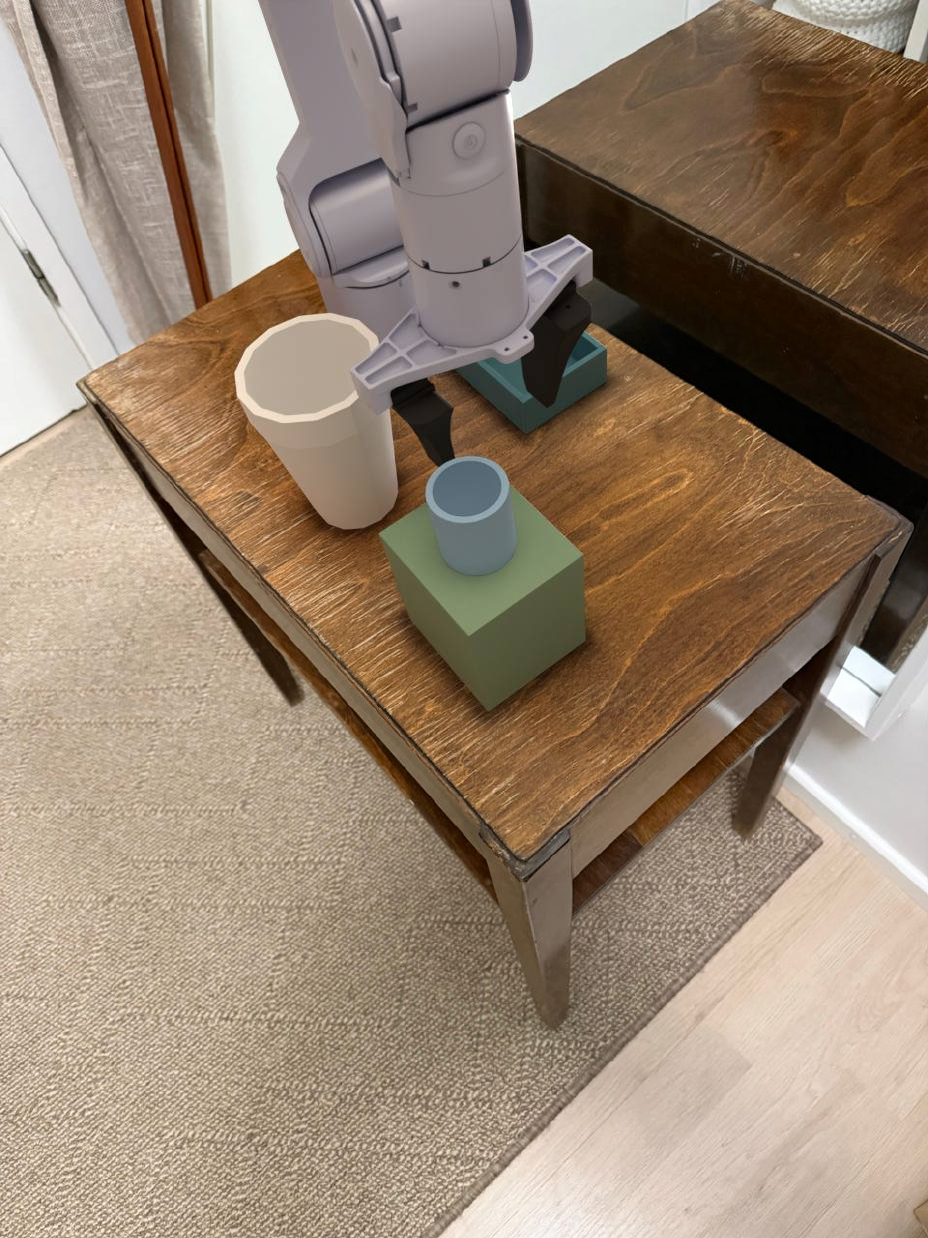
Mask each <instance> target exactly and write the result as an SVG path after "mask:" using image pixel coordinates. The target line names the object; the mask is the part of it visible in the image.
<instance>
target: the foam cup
mask: <svg viewBox="0 0 928 1238" xmlns="http://www.w3.org/2000/svg"><path fill="white" fill-rule="evenodd" d="M378 345H379V342H378V338H377V336H376V335H375V334H374V333H373V332H372V331H371V330H369V329H368V328H367V327H366V326H365V325H364V324H363V323H361V322H360V321H359V320H357V319H353V318H349V317H345V316H341V315H337V314H333V313H327V312H326V313H324V312H323V313H316V314H315V313H314V314H307V315H306V314H304V315H298V316H296V317H293V318H291V319H288V320H286V321H283V322H282V323H279V324H276V325H274V326H272V327H269V328H268V329H267V330H266V331H265V332H263V333H262V334H261V335H260V336H258V338H256V339H255V340H254V341H253V342H252V343H250V344H249V346H247V347H246V348H245V350H244V352H243V354H242V356H241V358H240V360H239V362H238V364H237V366H236V368H235V370H234V382H235V391H236V397H237V399H238V401H239V403H240V405H241V407H242V409H243V412H244V414H245V416H246V418H247V420H248V421H249V423H250V424H251V425H252V426H253V428H254V429H255V430H256V431H257V432H258V434H260V435H261V436H262V437H263V439H264V440H265V441H266V442H267V443H268V445H269V447H271V449H272V451H273V452H274V453H275V455H276V456H277V457H278V459H279V461H280V462H281V463H282V465H283V466H284V468H285V469H286V470H287V472H288V473H289V475H290V476H291V478H293V480H294V482H296V485H297V486H298V487H299V489H300V490H301V491H302V493H303V494H304V496H305V497H306V499H307V500H308V501H309V503H310V504H311V506H312V507H313V508H314V510H315V511H316V512H317V514H318V515H319V516H320V517H321V518H322V519H323V520H324V521H325V523H326V524H327V525H331V526H332V527H333V526H334V527H335V528H339V529H342V530H355V529H356V530H357V529H358V530H359V529H364V528H367V527H369V526H371V525H374V524H375V523H377V522H380V521H381V520H383V518H384V517H385V516H386V515H387V514H388V513H389V512H390V511H392V509H393V508H394V506H395V503H396V501H397V497H398V495H399V489H398V487H399V483H398V474H397V465H396V457H395V456H396V454H395V445H394V438H393V429H392V418H391V408H389V409H387V410H386V411H384V412H382V413H381V414H379V415H376V414H375V413H374V412H373V411H372V410H371V409H370V408H369V407H368V406H367V405H366V404H365V403H364V402H363V401H362V400H361V399H360V398H359V397H358V395H357V392H356V389H355V386H354V383H353V380H352V377H351V374H350V371H349V369H350V368H352V367H353V366H355V365H356V364H358V363H359V362H361V361H362V360H363V359H364V358H366V357H367V356H368V355H369V354H370V353H371V352H372V351H373V350H374V349H375V348H376V347H377V346H378Z"/></svg>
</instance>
